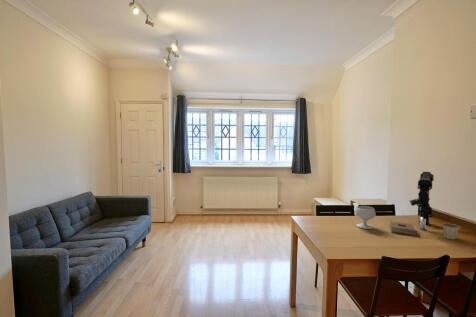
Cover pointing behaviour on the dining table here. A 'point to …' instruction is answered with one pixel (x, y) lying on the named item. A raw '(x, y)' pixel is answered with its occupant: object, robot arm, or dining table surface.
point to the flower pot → (450, 230)
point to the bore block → (402, 228)
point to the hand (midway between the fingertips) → (423, 217)
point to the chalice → (365, 216)
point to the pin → (422, 224)
